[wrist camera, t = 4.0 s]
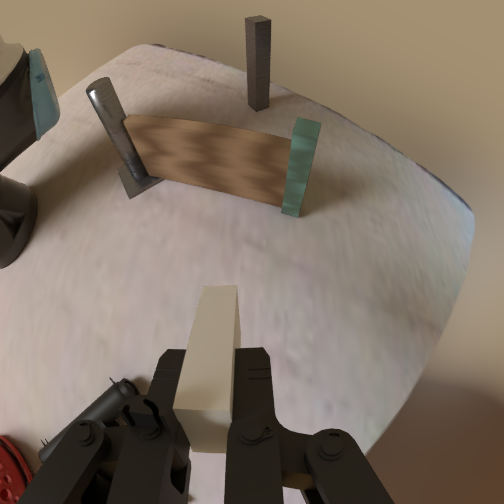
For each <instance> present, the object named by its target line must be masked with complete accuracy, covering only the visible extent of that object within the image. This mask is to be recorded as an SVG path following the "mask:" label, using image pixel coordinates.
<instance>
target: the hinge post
mask: <svg viewBox="0 0 504 504" xmlns="http://www.w3.org/2000/svg"><path fill="white" fill-rule="evenodd" d="M86 93H87V95H88V97H89V99H90V101H91V103H92V105H93V107H94V109H95V111H96V113H97V115H98V117H99V118H100V120H101V122H102V124H103V126H104V128H105V130H106V131H107V133H108V135H109V137H110V139H111V140H112V142H113V144H114V146H115V148H116V149H117V151H118V153H119V155H120V156H121V158H122V160H123V162H124V163H125V165H123V166H121V167H120V168H118V169H117V170H118V173H119V175H120V178H121V180H122V183H123V185H124V188H125V190H126V193H127V195H128V197H129V199H131V198H132V197H134V196H136V195H138V194H139V193H141V192H143V191H144V190H146V189H148V188H150V187H151V186H153V185H155V184H157V183H158V182H160V181H162V180H164V178H160V177H155V176H150V175H149V174H148V172H147V170H146V168H145V166H144V164H143V162H142V160H141V158H140V156H139V154H138V152H137V150H136V148H135V146H134V144H133V142H132V139H131V137H130V135H129V133H128V131H127V129H126V127H125V125H124V123H123V122H124V120H125V119H126V118H127V117H126V115H125V113H124V110H123V108H122V106H121V104H120V101H119V99H118V97H117V94H116V92H115V90H114V87H113V85H112V83H111V80H110V78H109V77H104V78H100V79H98V80H96V81H94V82H93V83H92V84H90V85H89V86H88V87H87V89H86Z"/></svg>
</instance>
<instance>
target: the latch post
mask: <svg viewBox="0 0 504 504" xmlns="http://www.w3.org/2000/svg"><path fill="white" fill-rule="evenodd" d="M245 30H246V58H247V85H248V105H249V106H250V107H252V108H253V109H254V110H255V111H256V112H257V111H260V110H262V109H265V108H268V107H269V87H270V52H271V20H270V19H268V18H266V17H264V16H261V15H260V16H254V17H248V18H245Z"/></svg>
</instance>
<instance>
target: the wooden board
mask: <svg viewBox="0 0 504 504" xmlns="http://www.w3.org/2000/svg"><path fill="white" fill-rule="evenodd" d="M123 123H124V125H125V127H126V129H127V131H128V133H129V135H130V137H131V139H132V142H133V144H134V146H135V148H136V150H137V152H138V154H139V156H140V158H141V160H142V162H143V164H144V166H145V168H146V170H147V172H148V174H149V175H150V176H155V177H160V178H164V179H169V180H173V181H178V182H182V183H187V184H191V185H195V186H200V187H204V188H208V189H212V190H216V191H220V192H224V193H228V194H232V195H236V196H240V197H244V198H248V199H252V200H256V201H259V202H263V203H267V204H270V205H274V206H278V207H281V208H282V211H281V213H284V214H287V215H291V216H294V217H298V215H299V212H300V208H301V204H302V201H303V197H304V193H305V189H306V185H307V181H308V177H309V173H310V169H311V165H312V161H313V157H314V152H315V148H316V144H317V140H318V135H319V131H320V127H321V123H319V122H315V121H312V120H308V119H304V118H300V117H298V118H297V121H296V124H295V127H294V130H293V133H292V140H291V139H287V138H283V137H279V136H274V135H270V134H265V133H261V132H256V131H251V130H246V129H240V128H235V127H229V126H224V125H218V124H211V123H205V122H198V121H190V120H182V119H174V118H164V117H153V116H140V115H128V117H127V118H126V119H125V120H124V122H123Z"/></svg>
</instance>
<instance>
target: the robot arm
mask: <svg viewBox="0 0 504 504" xmlns="http://www.w3.org/2000/svg"><path fill="white" fill-rule="evenodd" d="M59 117H60V108H59V103H58V100H57V96H56V93H55V90H54V87H53V83H52V80H51V77H50V74H49V71H48V68H47V65H46V62H45V60H44V57H43V54H42V53H41V51H40V49H34V50H31V51H29V53H28V54H27V53H26V52H25V50H24V48H23V46H22V45H21V44H19V43H16V44H15V43H14V44H6V43H5V42H4V41H3V39H2V37H1V35H0V172H1V171H2V170H3V169H4V168H5V167H6V166H8V165H9V164H10V163H11V162H12V161H13V160H14V159H15V158H16V157H18V156H19V155H20V154H21V153H22V152H23V151H25V150H26V149H27V148H28V147H29V146H31V145H32V144H33V143H34V142H36V141H39V140H40V138H41V136H42V135H44V134H45V133H46V132H47V131H49V130H50V129H51V128H52V127H54V126H55V125H56V123H57V122H58V120H59ZM36 214H37V199H36V196H35V194H34V193H33V192H32V191H31V190H30V189H29V188H28V187H27V186H26V185H25V184H23V183H19V182H17V181H15V180H12V179H10V178H7V177H5V176H2V175H1V174H0V268H3V267H6V266H7V265H9V264H10V263H11V262H12V261H13V260H14V259H15V258H16V257H17V256H18V255H19V253H20V252H21V251H22V249H23V247H24V246H25V244H26V242H27V240H28V238H29V236H30V234H31V231H32V229H33V226H34V223H35V219H36ZM118 411H119V413H120V414H121V416H122V417H123V419H124V420H125V422H126V423H127V425H124V426H119V427H109V428H102V427H101V426H100V425H99V424H98V423H97V422H95V421H92V420H89V419H88V420H80V421H78V422H76V423H74V424H73V425H72V426H71V427H70V428H69V430H68V431H67V432H66V434H65V435H64V436H63V438H62V439H61V440H60V442H59V443H58V444H57V446H56V447H55V448H54V450H53V451H52V453H51V454H50V455H49V457H48V458H47V460H46V461H45V462H44V464H43V465H42V467H41V468H40V469H39V471H38V472H37V474H36V475H35V476H34V478H33V479H32V481H31V482H30V484H29V485H28V486H27V488H26V489H25V491H24V492H23V494H22V495H21V497H20V498H19V500H18V501H17V503H16V504H187V501H188V491H189V482H190V474H191V461H190V459H189V450H190V447H191V449H192V451H193V452H205V453H226V472H225V495H224V504H284V500H283V487H288V488H294V489H300V491H301V493H302V496H303V498H304V500H305V502H306V504H394V502H393V500H392V499H391V497H390V496H389V494H388V492H387V491H386V489H385V488H384V486H383V485H382V483H381V481H380V480H379V478H378V477H377V475H376V474H375V472H374V470H373V469H372V467H371V465H370V464H369V462H368V461H367V459H366V457H365V456H364V454H363V453H362V451H361V449H360V448H359V446H358V445H357V443H356V441H355V440H354V439H353V437H352V436H351V435H350V434H349V433H347V432H345V431H342V430H340V429H332V428H331V429H325V430H321V431H319V432H317V433H316V434H314V435H308V434H302V433H297V432H293V431H290V430H288V429H286V428H284V427H283V426H282V425H281V424H280V423H279V422H278V420H277V418H276V415H275V408H274V397H273V386H272V376H271V365H270V356H269V355H268V354H267V352H266V351H265V349H264V348H263V347H260V348H241V329H240V317H239V305H238V293H237V285H232V286H205V287H203V289H202V293H201V296H200V300H199V304H198V307H197V311H196V315H195V319H194V323H193V326H192V330H191V334H190V338H189V342H188V346H187V350H184V349H167V351H166V352H165V353H164V354H163V355H162V356H161V357H160V358H159V361H158V364H157V367H156V371H155V373H154V376H153V379H152V382H151V385H150V388H149V391H148V394H147V395H137V396H134V397H131V398H128V399H127V400H126V401H124V402H123V403H122V404H121V406H120V407H119V409H118ZM282 486H283V487H282Z"/></svg>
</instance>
